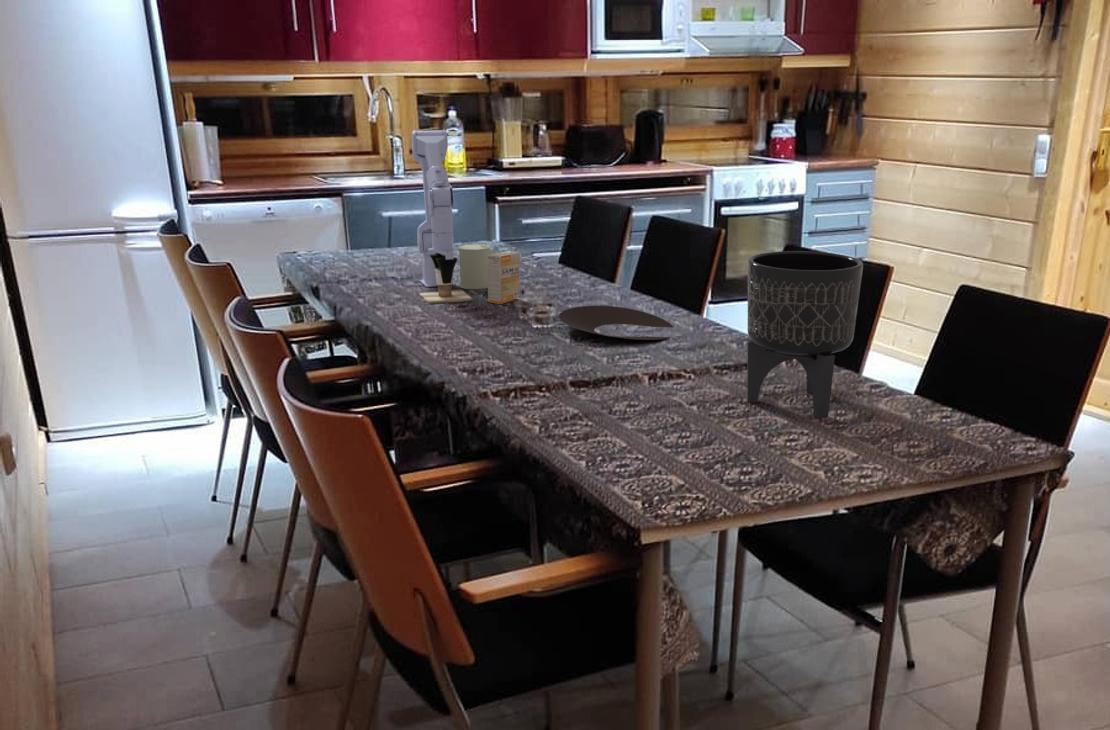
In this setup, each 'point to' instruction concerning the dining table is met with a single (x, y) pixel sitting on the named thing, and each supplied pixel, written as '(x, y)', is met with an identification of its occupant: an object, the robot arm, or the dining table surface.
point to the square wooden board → (445, 295)
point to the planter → (800, 316)
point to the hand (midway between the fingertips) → (444, 281)
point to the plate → (610, 319)
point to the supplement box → (503, 277)
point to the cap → (439, 278)
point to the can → (474, 266)
